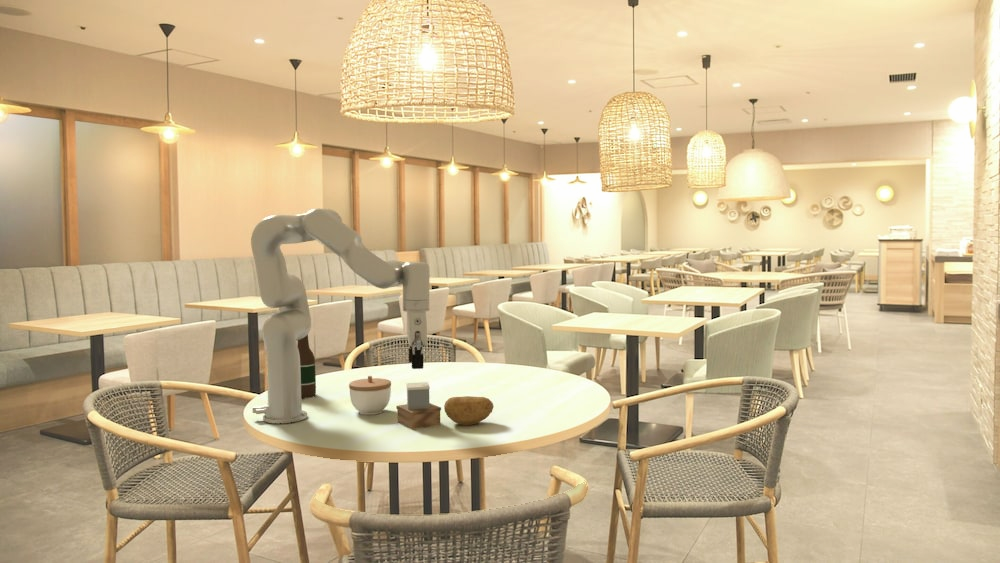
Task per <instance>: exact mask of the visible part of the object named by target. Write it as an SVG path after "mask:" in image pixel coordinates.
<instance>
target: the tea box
mask: <svg viewBox="0 0 1000 563" xmlns="http://www.w3.org/2000/svg"><path fill="white" fill-rule="evenodd" d="M429 405H430V409H411V410H408V406H407V403H406V404H399V405H396V406H395V408H396V410H397V424H400V425H401V426H404V427H406V428H408V429H409V430H418V429H424V428H430V427H434V426H435V427H436V426H441V411H442V407H440V406H438V405H436V404H433V403H430V402H429Z"/></svg>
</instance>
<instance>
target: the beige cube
mask: <svg viewBox="0 0 1000 563" xmlns="http://www.w3.org/2000/svg"><path fill="white" fill-rule="evenodd" d="M406 398H407V399H406V404H407V406H408V410H411V409H430V405H429V403H430V384H429V381H424V382H423V381H422V382H406Z"/></svg>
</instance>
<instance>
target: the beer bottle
mask: <svg viewBox="0 0 1000 563" xmlns="http://www.w3.org/2000/svg"><path fill="white" fill-rule="evenodd" d="M308 334H309V333H308ZM308 334H307V335H306V336H305V337H304V338H302V339H300V340H297V346H298V350H299V355H300V370H301V399H310V398H313V396H314V397H316V394H317V385H316V382H317V380H316V357H315V355H314V353H313V351H312V350H311V348H310V343H309V335H308Z"/></svg>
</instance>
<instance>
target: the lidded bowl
mask: <svg viewBox="0 0 1000 563" xmlns="http://www.w3.org/2000/svg"><path fill="white" fill-rule="evenodd" d="M391 386H392V382H391V380H389V379H387V378H379V377H378V378H377V377H373V376H372V375H367V378H360V379H355V380H352V381H350V382H349V383H348V388H349V397H350V402H351V404H352V406H353V407H354V409H355V410H356V411H358V413H359V414H360V415H364V416H365V415H367V416H368V415H373V416H374V415H378V414H382V413H383V411H384V409H386V407H387V406H388V404H389V402H390V401H391V400H390V398H391V393H392V389H391Z"/></svg>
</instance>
